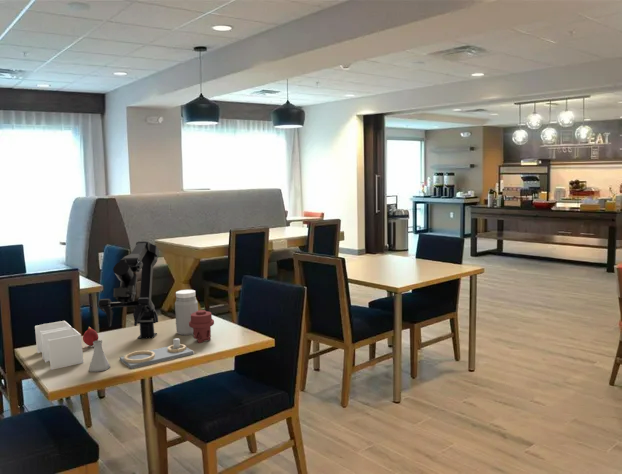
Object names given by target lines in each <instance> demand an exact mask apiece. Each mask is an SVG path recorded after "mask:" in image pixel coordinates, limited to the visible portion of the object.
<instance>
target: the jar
mask: <svg viewBox="0 0 622 474" xmlns="http://www.w3.org/2000/svg"><path fill="white" fill-rule="evenodd" d="M196 294H197V293H196V290H194V289H180V290H177V291H176V292H175V297H176V298H175V299H176V300H175V302H174V309H175V310H174V312H175V313H174V314H175V329H176V333H177V334H178V335H180V336H193V328H191V327H190V326H189V322H190V321H191V314H192V313H194V312H196V311H198V310H199V304H198V303H199V302H198V300H197V297H196Z"/></svg>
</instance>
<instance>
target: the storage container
mask: <svg viewBox="0 0 622 474" xmlns="http://www.w3.org/2000/svg"><path fill="white" fill-rule="evenodd" d="M34 330H35V331H34V333H35V342H36V343H35V344H36V352H37V354H39V353H41V357H42V360H44V362H45V363H47V362H49V365H50V367H49V368H50V370H52V371H53V370H56V369H61V368H65V367H70V366H71V367H72V366H74V365H79V364H84V354H83V344H82V343H83V342H82V341H83V340H82V334H81V333H80V332H79V331H78V330H77V329H75V328H73V327H72V326H71V325H70V324H69V323H68V322H67V321H66V320H62V321H61V320H59V321H55V322H49V323H43V324H39V325H38V324H37V325H35V326H34Z"/></svg>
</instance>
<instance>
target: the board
mask: <svg viewBox="0 0 622 474" xmlns="http://www.w3.org/2000/svg"><path fill="white" fill-rule="evenodd" d="M172 340H173V341H172V343H173V344H171V345H167V346H162V347H159V348H155V349H151V350H150V349H149V350H146V349H145V350H136V351H133V352H132V351H131V352H129V353H127V354H125V355H123V356H122V355H121V356H119V361H120V362H122V363H123V364H124V365H125V366H127V367H128V368H129V369H131V370H132V369H136V368H140V367H144V366H148V365H153V364H157V363H161V362H165V361H166V362H167V361H170V360H175V359H179V358H182V357H187V356H190V355H194V350H192V349H190V348H189V347H187V345H185V344H181V343H180V342H181V340H180V338H173V339H172Z"/></svg>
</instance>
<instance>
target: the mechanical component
mask: <svg viewBox="0 0 622 474" xmlns="http://www.w3.org/2000/svg"><path fill="white" fill-rule="evenodd" d="M212 317H213V316H212V312H211V311H207V310H205V309H200V310H199V309H198V311H196V312H194V313H192V314H191V321H190V322H189V326H190V327H191V328H193V334H192V336H193V339H195V340H197V343H199V344H202V343H203V342H207V341H210V340H211V337H212V331H211V328H212V327H213V326H214V325H215V321H214V319H213V318H212Z"/></svg>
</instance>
